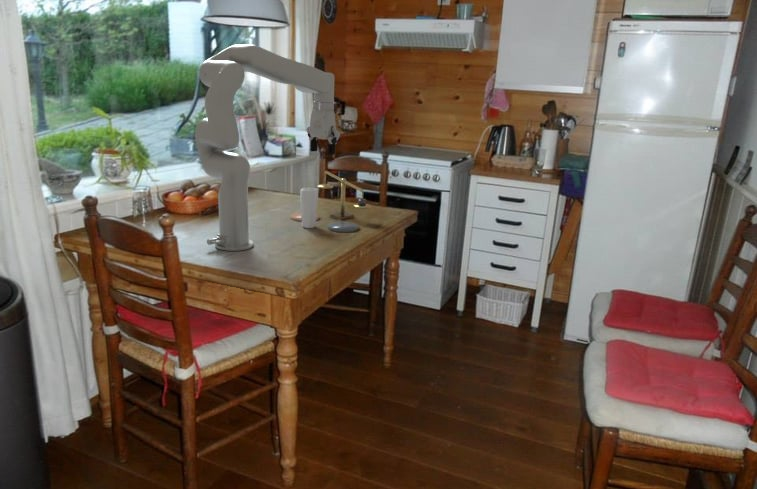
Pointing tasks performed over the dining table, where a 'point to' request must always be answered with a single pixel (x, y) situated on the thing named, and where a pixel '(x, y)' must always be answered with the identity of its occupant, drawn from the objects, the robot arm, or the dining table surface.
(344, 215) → the balance
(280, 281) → the dining table surface
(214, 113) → the robot arm
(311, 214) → the drinking glass
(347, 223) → the dish slate
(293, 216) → the pink dome
